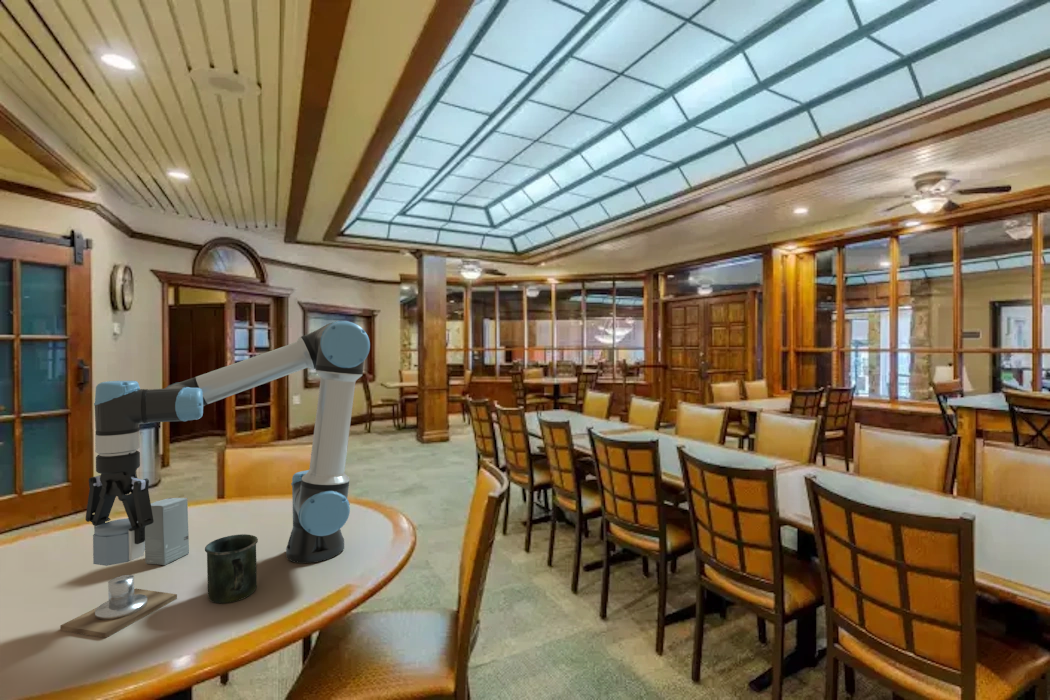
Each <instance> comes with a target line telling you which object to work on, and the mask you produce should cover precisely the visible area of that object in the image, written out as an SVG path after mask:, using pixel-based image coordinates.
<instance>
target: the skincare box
mask: <svg viewBox="0 0 1050 700" xmlns="http://www.w3.org/2000/svg"><path fill="white" fill-rule="evenodd" d="M150 503H151V509H152V515H153V520H154V522H153V523H152V524H150V525H147V526H146V527H145V550H144V556H145V558H144V559H145V560H144V561H145V564H150V565H158V566H159V565H162V566H167V565H168V564H171V563H172V562H175V561H176V560H179V559H180V558H182V557H184V556H187V555H188V554H190V544H189V543H190V542H189V540H190V538H189V510H188V509H189V508H188V507H189V506H188V498H187V497H168V498H164V499H161V500H156V501H154V502H150Z"/></svg>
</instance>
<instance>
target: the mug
mask: <svg viewBox="0 0 1050 700" xmlns="http://www.w3.org/2000/svg"><path fill="white" fill-rule="evenodd" d="M258 543H259V538H258V537H257V536H255V535H252V534H246V533H244V534H243V533H242V534H233V535H227V536H222V537H220V538H217V539H214V540H213V541H211V542H209V543H208V544H206V546H205V548H204V551H205V552H206V561H207V562H206V566H207V567H206V568H207V571H206V572H207V573H206V574H207V578H206V579H207V599H209V601H211V602H212V603H216V604H230V603H234V602H237V601H241V600H244V599H245V598H248V597H249V596H251V595H252V594H253V593H254V592H255V591H256V589H257V585H258V581H257V578H258V577H257V575H258V573H257V572H258V571H257V544H258Z"/></svg>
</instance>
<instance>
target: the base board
mask: <svg viewBox="0 0 1050 700" xmlns="http://www.w3.org/2000/svg"><path fill="white" fill-rule="evenodd" d="M134 594H142V595H145V596H147V605H146V606H145V607H144V608H143V609H142V610H140V611H138V612H136V613H134V614H132V615H129V616H126V617H123V618H119V619H114V620H98V619H96V618H95V610H96V608H97V607H95V608H93V609H91V610H89V611H87V612H85V613H83V614H81V615H79V616H77V617H75V618H72V619H70V620H68V621H67V622H64V623H63V624H61V625H60V626H59V627H60V628H59V629H60V631H61V632H62V631H63V632H69V633H75V634H80V635H86V636H91V637H97V638H102V639H103V638H104V639H107V638H108V637H110V636H112V635H114V634H116V633H117V632H119V631H121V630H123V629H125V628H127V627H129V626H130V625H133V624H134V623H135V622H138V621H139V620H141V619H143V618H145V617H146V616H149V615H150V614H152V613H153V612H155V611H157V610H160V609H161V608H163V607H164V606H166V605H169V604H170V603H171V602H174V601H175V600H177V599H178V594H176V593H171V592H164V591H156V590H148V589H142V588H134Z"/></svg>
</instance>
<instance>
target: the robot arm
mask: <svg viewBox="0 0 1050 700" xmlns="http://www.w3.org/2000/svg"><path fill="white" fill-rule="evenodd" d="M370 350H371V342H370V338H369V335H368V334H367V332H366V330H364V329H363V327H362V326H360V325H358V324H357V323H354V322H352V321H348V320H337V321H335V322H331V323H327V324H326V325H325V324H324V326H321V327H320V328H318V329H316V330H314V331H312V332H309V333H308V334H304V335H301V336H299V337H298V339H297V340H296V341H295V342H293V343H289V344H287V345H284V346H281V347H278V348H276V349H273V350H270V351H266V352H263V353H261V354H258V355H254V356H252V357H249V358H246V359H244V360H241V361H238V362H235V363H232V364H230V365H226V366H223V367H220V368H218V369H217V368H216V369H215V370H211V371H209V372H207V373H206V372H205V373H203V374H200V375H197V376H195V377H191V378H189V379H186V380H183V381H180V382H175V383H172V384H169V385H167V387H165V388H153V389H152V388H151V389H150V388H149V389H148V388H141V387H140V384H139V382H138V381H136V380H112V381H111V380H109V381H103V382H100V383H97V385H96V386H95V394H94V397H95V398H94V403H93V406H94V421H95V422H94V423H95V424H94V425H95V426H94V427H95V428H94V429H95V434H94V437H95V438H94V439H95V440H94V441H95V442H94V443H95V444H94V445H95V446H94V447H95V450H94V451H95V453H96V454H97V455H96V456H95V472H96V473H97V474H100V475H95V476H91V477H89V478H88V485H89V486H88V487H89V489H88V490H89V491H88V498H87V505H86V513H85V521H86V523H87V522H91V525H93V527H94V529H95V527H97V526H99V525H101V524H103V523H106V522H110V521H112V520H111V518H110V515H111V511H112V508H113V506H114V503H115V500H116V497H117V498H118V501H120V502H122V506H123V507H124V510H125V513H126V516H127V518H128V519H129V521H130V524H131V527H132V528H130V529H129V530H128V533H129V560H131V561H130V562H133V561H134V560H136V559H139V558H141V557H143V556H145V550H144V541H145V527H146V526H147V525H150V524H152V523H153V522H154V520H153V515H152V509H151V503H152V502H151V498H150V493H149V485H150V480H149V478H143V479H141V478H139V477H138V475H137V474H136V473H137V472H136V471H137V470H138V468H140V466H141V453H140V451H139V450H138V449H140V447H141V446H140V424H149V423H165V422H166V423H169V422H170V423H171V422H188V421H194V420H196V421H197V420H199V419H201V418H202V417H203V414H204V407H205V406H207V405H209V404H212V403H215V402H218V401H221V400H223V399H225V398H229V397H231V396H234V395H237V394H239V393H242V392H245V391H248V390H251V389H254V388H256V387H258V386H261V385H264V384H268V383H270V382H272V381H275V380H277V379H281V378H283V377H285V376H288V375H292V374H294V373H297V372H299V371H302V370H305V369H310V370H315V372H316V373H317V375H318V376H319V378H320V379H319V380H320V381H319V390H318V397H317V404H316V405H317V406H316V414H315V420H314V429H313V438H312V444H311V445H312V446H311V451H310V452H311V453H310V459H309V460H310V462H309V469H307V470H301V471H297V472H295V473H294V474H293V475H292V477H291V486H292V488H291V489H292V490H291V492H292V529H291V532H290V535H289V539H288V542H287V544H286V548H285V551H286V552H285V557H286V559H287V560H288V561H290V562H292V563H299V564H311V563H310V562H312V563H318V562H317V561H319V562H322V560H323V561H327V560H329V558H330V559H332V558H331V557H333V556H335V555H337V554H338V555H340V554H341V553H342V552H343V551H344V550H345V539H344V537H343V534H342V531H341V529H342V528H343V526H345V525H346V523H347V521H348V519H349V516H350V512H351V511H350V510H351V507H350V502H349V497H348V495H349V490H350V489H349V488H350V487H349V486H350V481H351V479H350V477H349V476H348V475H347V474H346V472H345V469H346V462H347V455H348V454H347V453H348V444H349V437H350V429H351V421H352V414H353V413H352V412H353V405H354V397H355V389H356V388H355V387H356V382H357V380H358V379H360V378H361V377H363V375H364V374H363V373H364V365H365V360H366V359H367V357H368V356H369V353H370ZM137 521H138V523H137ZM343 549H344V550H343ZM342 550H343V551H342ZM341 551H342V552H341ZM340 552H341V553H340ZM339 553H340V554H339ZM338 555H337V556H338ZM335 557H336V556H335ZM333 558H334V557H333ZM326 559H327V560H326Z"/></svg>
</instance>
